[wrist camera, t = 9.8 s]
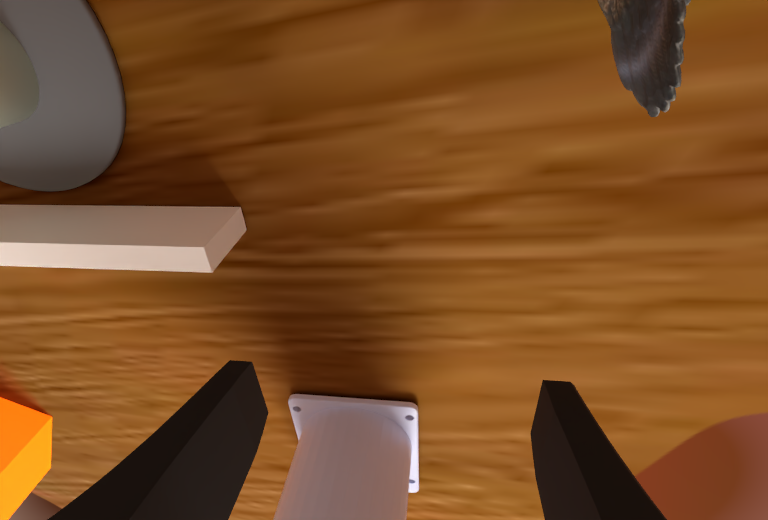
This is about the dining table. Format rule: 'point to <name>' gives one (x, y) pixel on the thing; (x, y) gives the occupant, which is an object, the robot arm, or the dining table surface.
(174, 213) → the divider wall
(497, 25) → the dining table surface
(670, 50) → the eagle figurine
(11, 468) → the orange juice
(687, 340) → the dining table surface
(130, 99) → the dining table surface
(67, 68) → the rubber mat
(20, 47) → the sage cylinder
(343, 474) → the robot arm
